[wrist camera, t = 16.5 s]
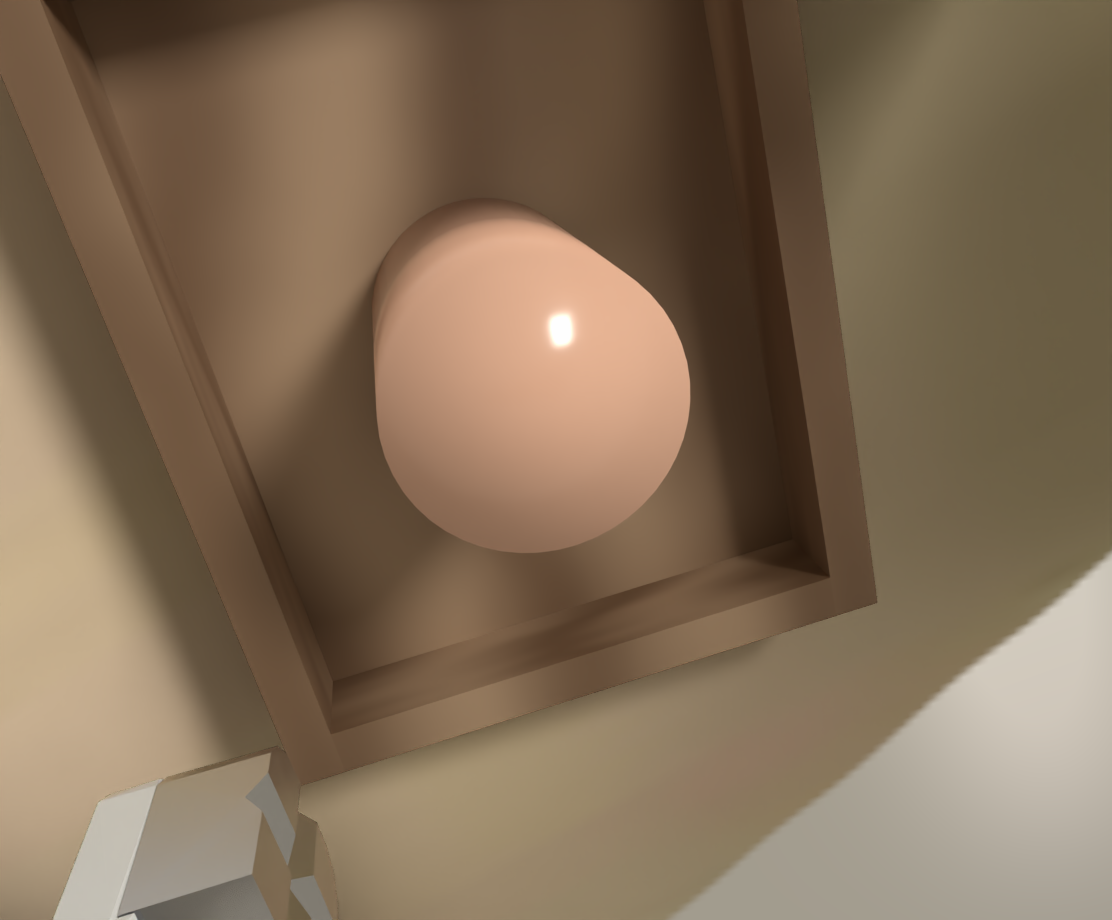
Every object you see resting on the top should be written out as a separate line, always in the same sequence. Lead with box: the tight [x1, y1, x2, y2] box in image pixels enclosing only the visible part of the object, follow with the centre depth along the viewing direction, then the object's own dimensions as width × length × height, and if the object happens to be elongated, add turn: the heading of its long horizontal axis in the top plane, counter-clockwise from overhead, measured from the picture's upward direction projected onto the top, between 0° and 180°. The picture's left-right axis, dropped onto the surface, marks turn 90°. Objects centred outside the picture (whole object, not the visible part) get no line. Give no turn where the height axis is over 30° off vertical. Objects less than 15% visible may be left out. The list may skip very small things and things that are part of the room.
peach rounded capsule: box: [372, 198, 690, 553], centre depth 21 cm, size 6×6×8 cm
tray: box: [0, 0, 877, 786], centre depth 24 cm, size 16×20×4 cm
